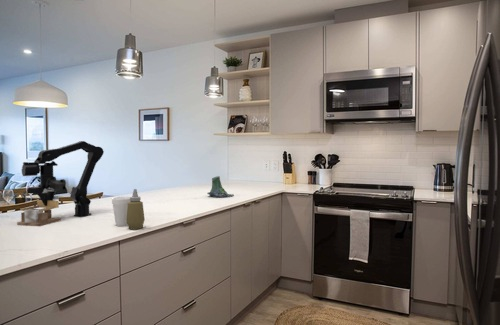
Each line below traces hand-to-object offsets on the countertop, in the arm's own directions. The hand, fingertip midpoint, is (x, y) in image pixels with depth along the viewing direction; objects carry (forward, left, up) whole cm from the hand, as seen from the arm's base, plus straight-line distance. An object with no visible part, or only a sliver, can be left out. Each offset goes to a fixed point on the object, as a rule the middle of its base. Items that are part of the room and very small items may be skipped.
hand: (47, 205), depth 171 cm
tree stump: (-59, -102, -8) cm, 118 cm away
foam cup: (-43, 0, -8) cm, 44 cm away
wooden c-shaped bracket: (0, +5, -1) cm, 5 cm away
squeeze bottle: (-53, +5, -8) cm, 54 cm away
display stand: (0, +5, -8) cm, 9 cm away
